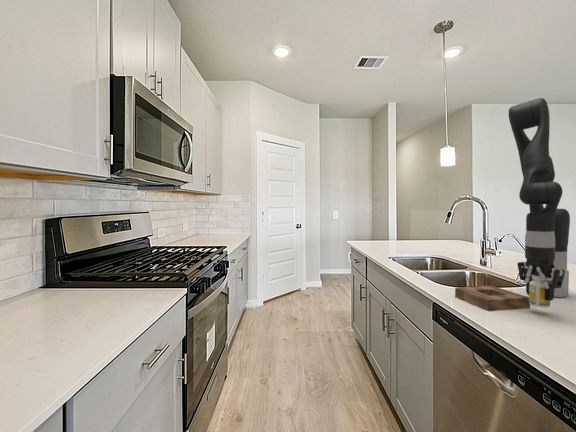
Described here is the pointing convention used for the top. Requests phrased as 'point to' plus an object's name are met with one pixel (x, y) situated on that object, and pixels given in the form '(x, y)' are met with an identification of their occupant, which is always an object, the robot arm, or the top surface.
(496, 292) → the socket board
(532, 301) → the supplement bottle
